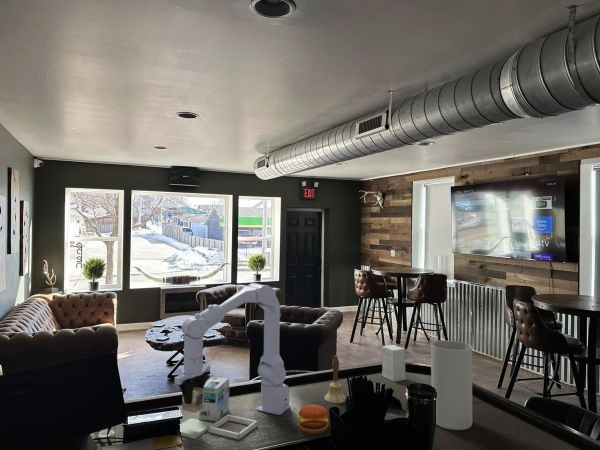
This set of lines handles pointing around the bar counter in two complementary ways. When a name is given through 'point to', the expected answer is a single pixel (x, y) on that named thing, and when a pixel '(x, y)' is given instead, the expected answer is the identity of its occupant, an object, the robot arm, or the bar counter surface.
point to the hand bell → (335, 386)
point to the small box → (393, 363)
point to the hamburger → (313, 419)
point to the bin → (230, 434)
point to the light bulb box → (215, 399)
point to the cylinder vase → (452, 383)
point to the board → (194, 428)
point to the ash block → (195, 401)
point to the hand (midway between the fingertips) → (192, 400)
